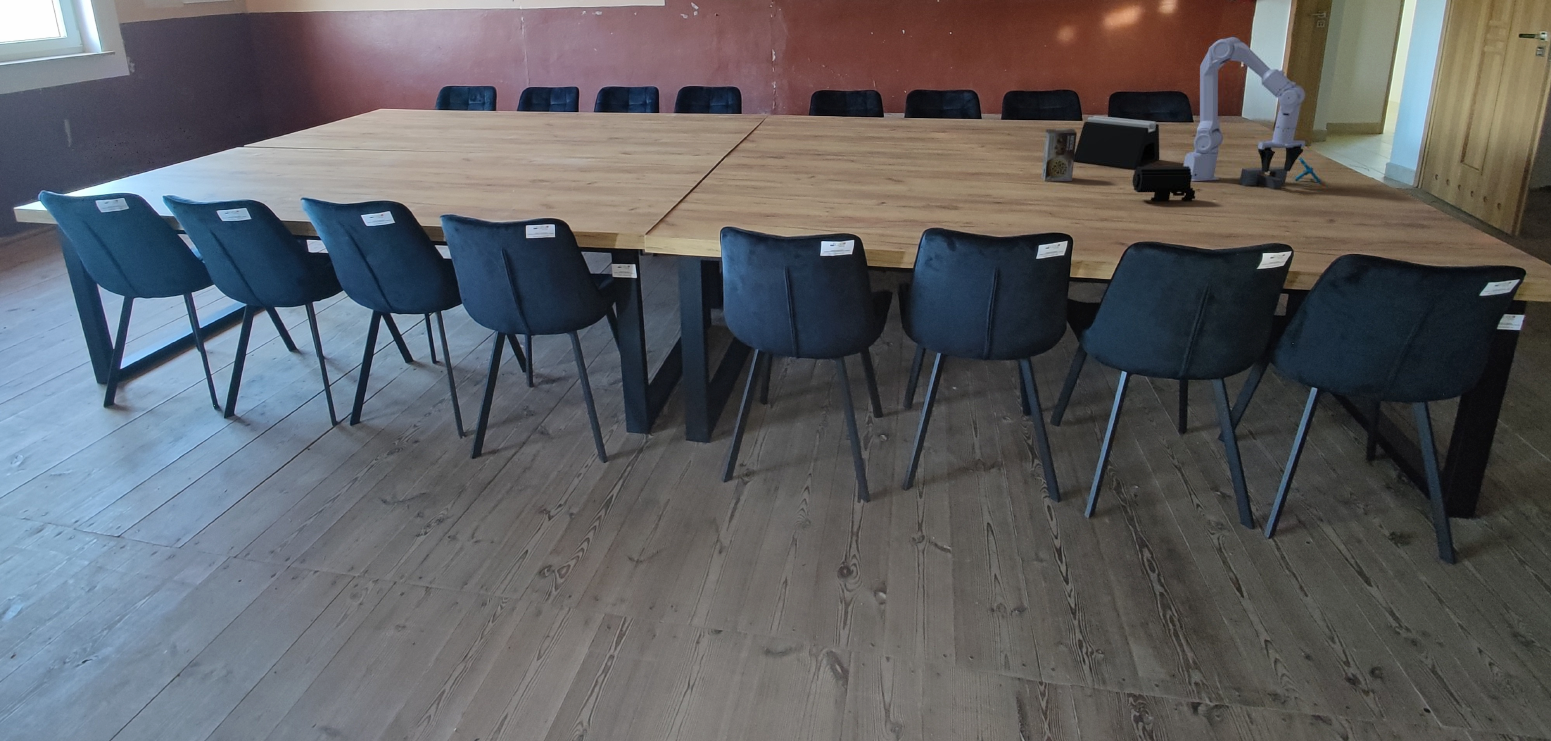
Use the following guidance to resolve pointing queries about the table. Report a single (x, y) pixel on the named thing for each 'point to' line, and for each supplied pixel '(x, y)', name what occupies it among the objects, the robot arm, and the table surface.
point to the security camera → (1164, 182)
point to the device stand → (1118, 143)
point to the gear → (1307, 171)
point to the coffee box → (1059, 154)
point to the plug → (1268, 181)
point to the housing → (1251, 174)
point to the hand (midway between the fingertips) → (1275, 171)
